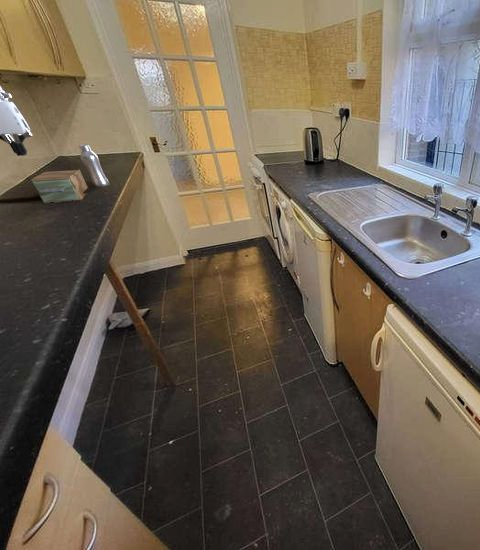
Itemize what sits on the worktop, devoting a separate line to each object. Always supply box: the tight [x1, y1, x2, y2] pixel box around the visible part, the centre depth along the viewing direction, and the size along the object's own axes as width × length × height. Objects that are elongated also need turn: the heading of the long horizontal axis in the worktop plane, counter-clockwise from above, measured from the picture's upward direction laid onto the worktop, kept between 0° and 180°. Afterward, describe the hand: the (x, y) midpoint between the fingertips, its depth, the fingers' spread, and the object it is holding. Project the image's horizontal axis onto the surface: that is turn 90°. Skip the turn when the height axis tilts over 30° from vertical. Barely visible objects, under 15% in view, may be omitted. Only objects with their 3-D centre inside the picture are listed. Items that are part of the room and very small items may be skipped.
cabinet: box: [30, 169, 89, 204], centre depth 132 cm, size 15×13×10 cm
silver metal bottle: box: [78, 144, 110, 188], centre depth 142 cm, size 6×7×20 cm
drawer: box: [32, 179, 79, 203], centre depth 129 cm, size 18×11×8 cm, turn 27°
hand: (22, 155), depth 108 cm, fingers closed
